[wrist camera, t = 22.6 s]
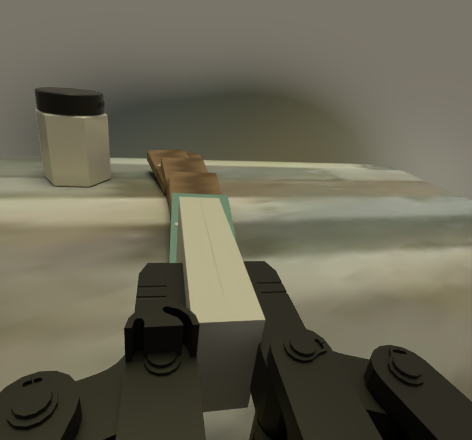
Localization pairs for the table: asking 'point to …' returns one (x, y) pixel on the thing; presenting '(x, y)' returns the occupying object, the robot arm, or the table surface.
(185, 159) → the domino
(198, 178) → the domino
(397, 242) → the table surface
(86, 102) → the jar
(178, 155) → the domino
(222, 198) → the domino teal
